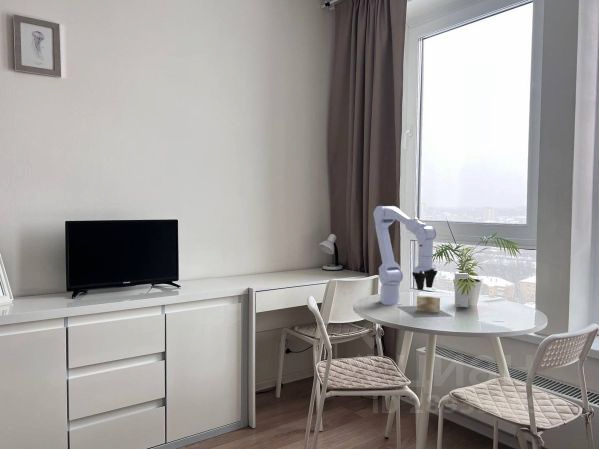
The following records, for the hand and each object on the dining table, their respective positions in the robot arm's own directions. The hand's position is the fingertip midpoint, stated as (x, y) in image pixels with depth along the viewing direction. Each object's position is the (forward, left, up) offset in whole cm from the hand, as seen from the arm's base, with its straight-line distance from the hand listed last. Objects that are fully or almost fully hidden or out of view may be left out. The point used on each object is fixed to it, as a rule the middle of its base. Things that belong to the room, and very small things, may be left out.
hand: (424, 288), depth 191 cm
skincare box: (-10, +22, -10) cm, 26 cm away
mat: (0, 0, -10) cm, 10 cm away
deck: (0, +2, -10) cm, 10 cm away
